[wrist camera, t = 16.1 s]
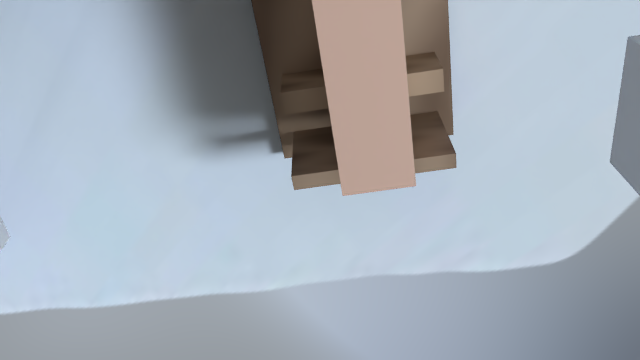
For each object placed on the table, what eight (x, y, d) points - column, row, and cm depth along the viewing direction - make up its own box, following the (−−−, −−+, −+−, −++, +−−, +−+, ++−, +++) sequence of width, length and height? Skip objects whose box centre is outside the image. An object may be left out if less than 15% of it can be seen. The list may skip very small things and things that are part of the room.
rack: (285, 151, 44) (281, 205, 38) (211, -203, 33) (189, -205, 27) (450, 128, 43) (473, 179, 37) (434, -243, 32) (463, -256, 26)
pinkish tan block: (337, 136, 39) (342, 195, 33) (294, -142, 31) (291, -130, 25) (399, 127, 39) (415, 185, 33) (373, -155, 30) (389, -147, 24)
